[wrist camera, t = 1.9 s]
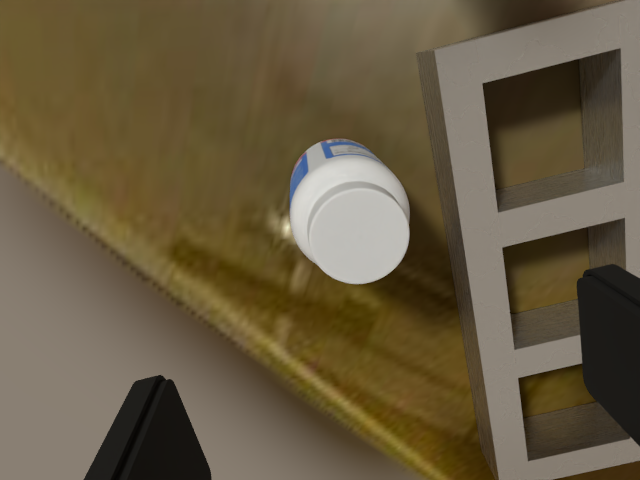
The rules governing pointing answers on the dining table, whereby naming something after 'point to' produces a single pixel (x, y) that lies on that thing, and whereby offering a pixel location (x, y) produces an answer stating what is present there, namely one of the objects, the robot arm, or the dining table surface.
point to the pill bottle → (348, 211)
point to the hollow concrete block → (536, 226)
